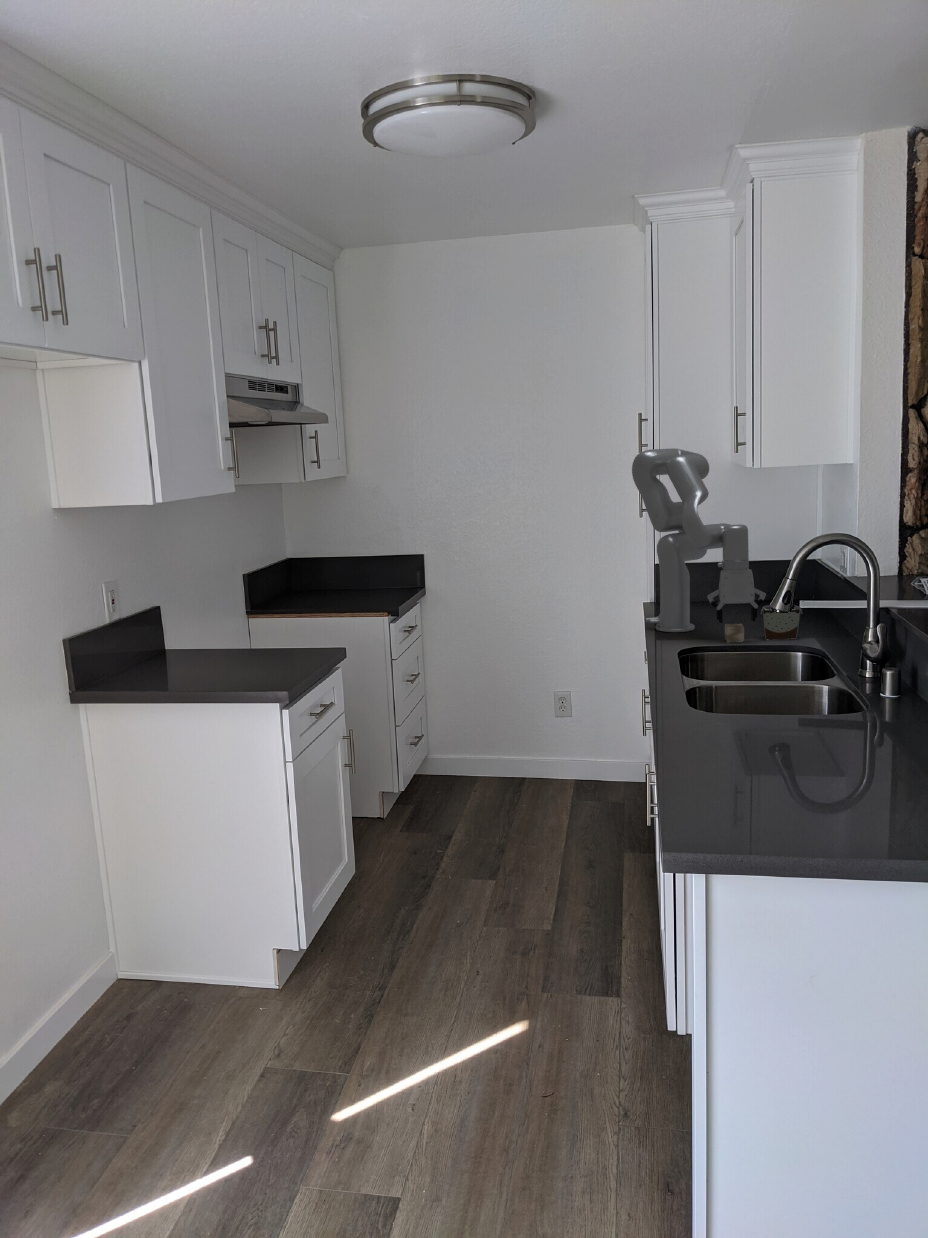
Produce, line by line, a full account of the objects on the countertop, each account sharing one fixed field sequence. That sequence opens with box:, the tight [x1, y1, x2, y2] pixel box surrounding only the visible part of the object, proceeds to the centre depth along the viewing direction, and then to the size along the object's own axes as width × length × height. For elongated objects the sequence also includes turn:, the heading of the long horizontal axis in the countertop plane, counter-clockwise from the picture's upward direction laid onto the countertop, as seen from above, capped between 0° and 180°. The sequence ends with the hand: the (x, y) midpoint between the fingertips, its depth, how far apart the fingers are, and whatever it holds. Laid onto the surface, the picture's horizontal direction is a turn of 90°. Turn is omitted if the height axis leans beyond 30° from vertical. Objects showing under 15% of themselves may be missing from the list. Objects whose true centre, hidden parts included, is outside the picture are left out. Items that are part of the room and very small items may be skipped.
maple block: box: [724, 623, 745, 643], centre depth 286 cm, size 5×5×5 cm
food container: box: [760, 604, 803, 640], centre depth 288 cm, size 12×6×10 cm, turn 84°
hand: (736, 621), depth 285 cm, fingers open, 9 cm apart
